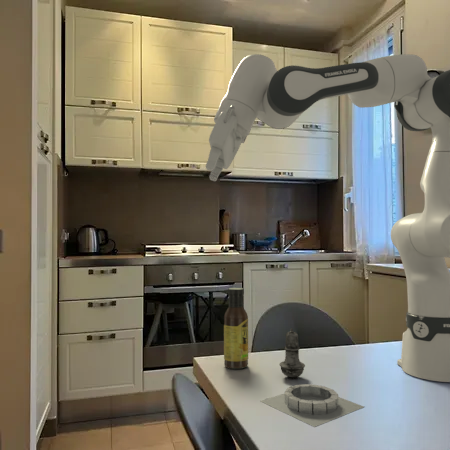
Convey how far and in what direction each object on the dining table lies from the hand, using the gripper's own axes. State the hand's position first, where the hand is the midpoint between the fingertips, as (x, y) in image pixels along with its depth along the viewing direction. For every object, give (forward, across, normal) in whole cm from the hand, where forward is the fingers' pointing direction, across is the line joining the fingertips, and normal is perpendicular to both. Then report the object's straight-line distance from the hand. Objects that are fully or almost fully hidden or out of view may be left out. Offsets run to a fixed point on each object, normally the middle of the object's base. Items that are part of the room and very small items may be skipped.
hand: (210, 175), depth 93 cm
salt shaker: (+36, +8, -35) cm, 51 cm away
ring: (+36, -8, -37) cm, 52 cm away
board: (+36, -7, -37) cm, 53 cm away
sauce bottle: (+40, +18, -23) cm, 50 cm away
